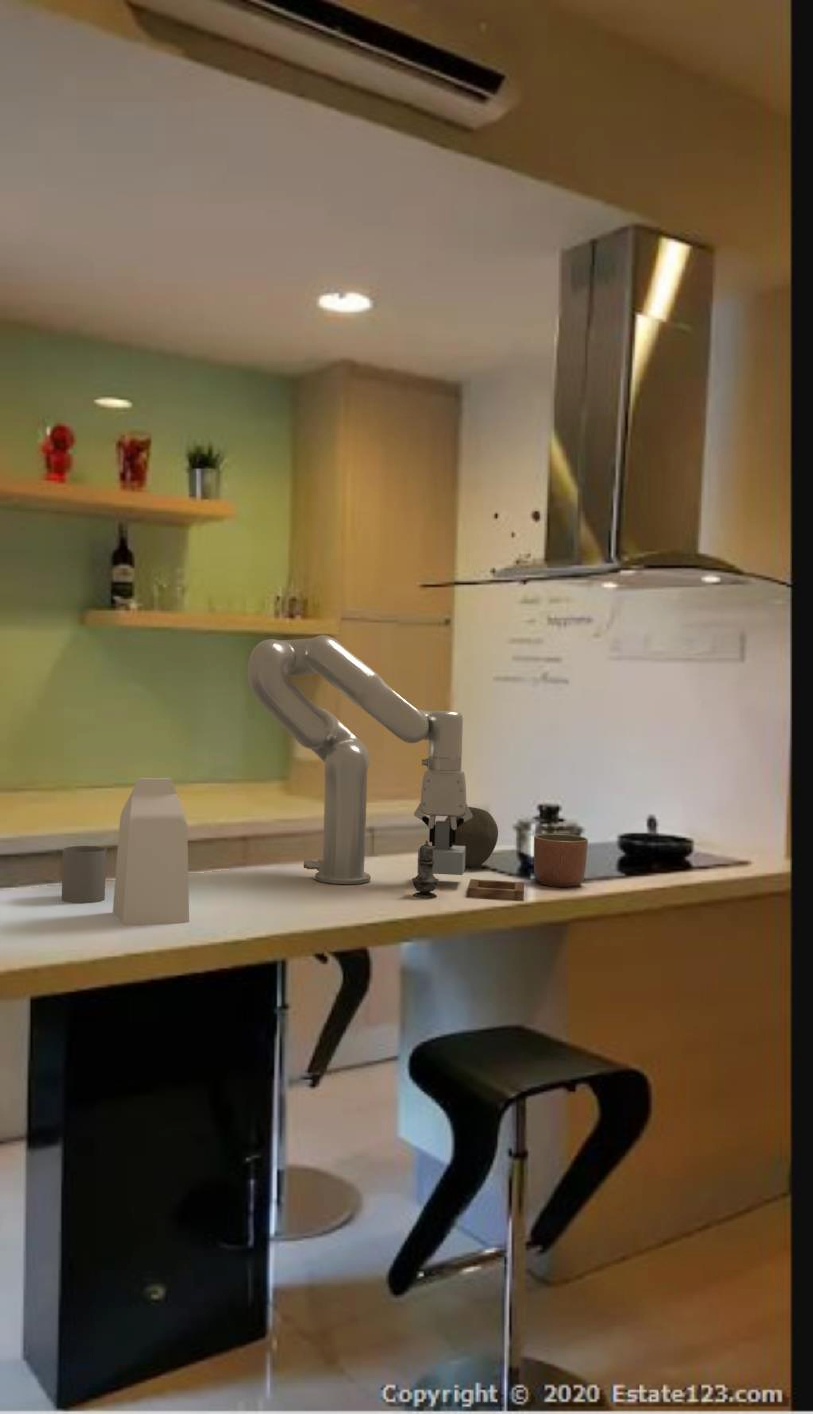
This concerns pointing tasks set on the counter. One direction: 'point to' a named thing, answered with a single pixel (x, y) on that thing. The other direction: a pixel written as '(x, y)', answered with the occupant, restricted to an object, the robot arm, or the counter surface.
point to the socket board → (495, 889)
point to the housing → (446, 852)
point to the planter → (560, 859)
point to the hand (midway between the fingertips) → (442, 845)
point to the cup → (83, 874)
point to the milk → (152, 857)
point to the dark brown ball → (477, 837)
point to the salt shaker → (425, 874)
